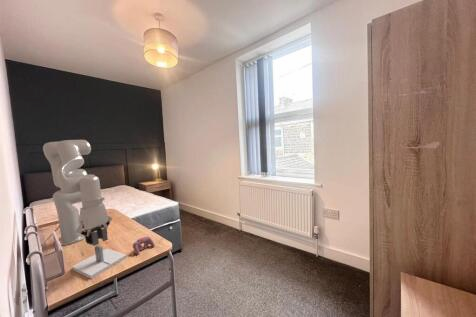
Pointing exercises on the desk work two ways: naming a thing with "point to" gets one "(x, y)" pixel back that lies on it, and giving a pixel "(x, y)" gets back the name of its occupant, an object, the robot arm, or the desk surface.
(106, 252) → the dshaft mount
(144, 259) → the desk surface
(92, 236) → the grey u-shaped bracket
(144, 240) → the video game controller
